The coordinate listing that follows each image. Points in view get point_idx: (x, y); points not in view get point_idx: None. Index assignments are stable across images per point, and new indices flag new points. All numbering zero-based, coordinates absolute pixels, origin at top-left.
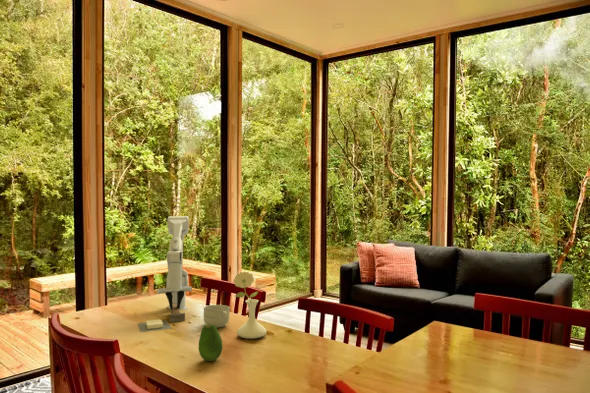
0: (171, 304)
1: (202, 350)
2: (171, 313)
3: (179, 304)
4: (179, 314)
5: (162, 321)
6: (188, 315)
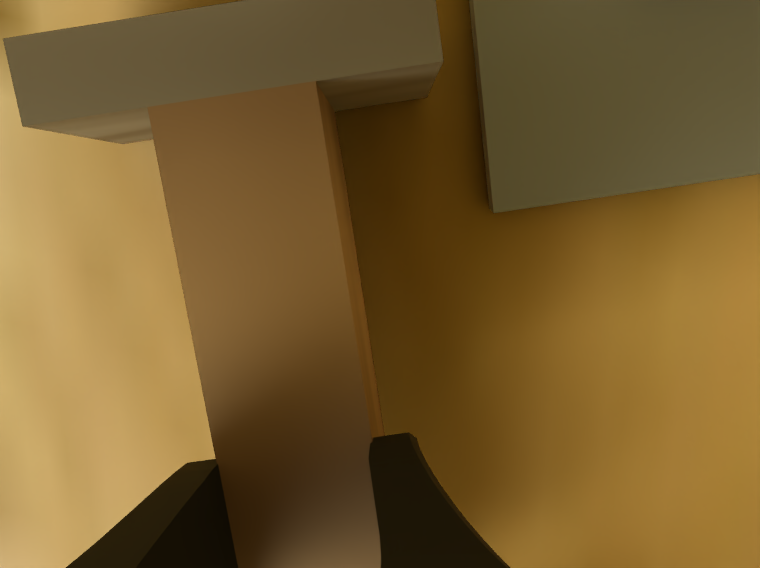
0: (407, 503)
1: None
2: None
3: (133, 527)
4: (167, 14)
5: (589, 124)
6: (75, 507)
